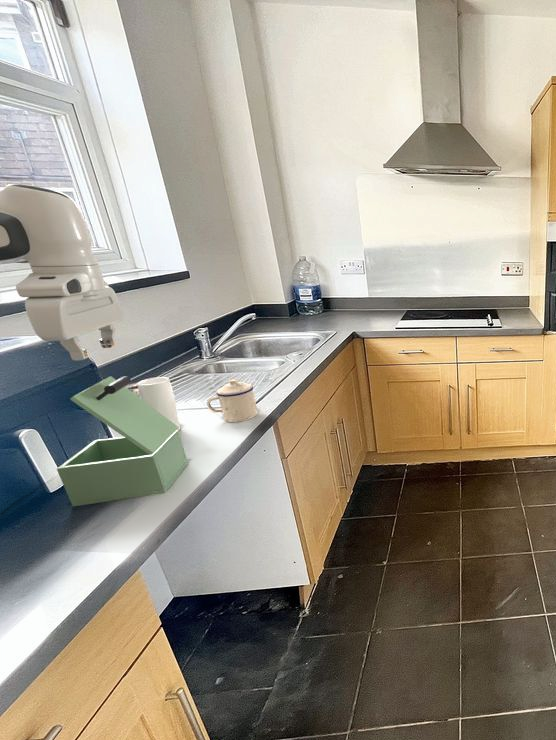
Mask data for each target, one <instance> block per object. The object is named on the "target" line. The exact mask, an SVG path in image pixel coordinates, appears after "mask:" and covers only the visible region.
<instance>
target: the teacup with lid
mask: <svg viewBox="0 0 556 740" xmlns="http://www.w3.org/2000/svg"><path fill="white" fill-rule="evenodd" d="M254 393H255V392H254V386H253V385H252V384H251V383H248V382H241V381H238V380H237V379H236V378H233V379H229V380H228V383H226V384H225V385H224V386H221V387H219V388H218V389H217V390H216V395H217V396H212V397H209V399H208V400H207V401H206V406H207V409H208V410H209V411H211V412H212V413H215V414H222V416H223V419H224V421H226V422H229V423H240V422H244V421H248V420H250V419H253V418H255V417H256V416H257V415H258V414H259V412H258V407H257V403H256V398H255V394H254ZM216 400H218V401H219V404H220V408H221V409H216V408H214V407H212V405H211V403H212V401H216Z"/></svg>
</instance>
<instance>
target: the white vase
mask: <svg viewBox="0 0 556 740" xmlns="http://www.w3.org/2000/svg"><path fill="white" fill-rule="evenodd" d="M136 383H137V386H138V390H139V393H140V396H141V399H142V400H143V401H145V402H146V403H147V404H149V405H150V406H151V407H153V408H154V409H155V410H157V411H158V412H159V413H161V414H162V415H163V416H165V417H166V418H167V419H169V420H170V421H171V422H173V423H174V424H175V425H177V426H178V427H179V428H178V429H177V430H178V431H180V430H181V424H180V420H179V415H178V410H177V404H176V399H175V393H174V389H173V387H172V383H171V380H170V378H169V377H167V376H157V377H149V378H145V379H143V380H140V381H138V382H136ZM177 430H176V431H177Z"/></svg>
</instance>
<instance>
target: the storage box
mask: <svg viewBox="0 0 556 740" xmlns="http://www.w3.org/2000/svg"><path fill="white" fill-rule="evenodd" d="M181 438H182V437H181V435H180V430H177V431H175V432H174V433H173V434H172V435H171V436H170V437H169V438H168V439H167V440H166V441H165V442H164V443H163V444H162V445H161V446H160V447H159V448H158V449H157V450H156V451H155V452H154V453H153V454H152V455H149V454H148V453H147V452H145V451H144V450H142V449H141V448H139V447H138V446H137V445H135V444H134V443H132V442H131V441H129V440H128V439H126V438H125V437H124V436H118V437H110V438H102V439H101V438H100V439H95V440H93V441H92V442H90V443H89V444H87V446H85V447H84V448H82V449H81V450H80V451H78V452H77V453H75V454H74V455H73V456H71V457H70V458H69V459H67V460H66V461H64V463H62V464H61V465H59V466H58V467H57V468H56V472H57V473H58V475H59V478H60V480H61V482H62V485H63V487H64V490H65V492H66V494H67V496H68V500H69V502H70V503H71V506H72V507H80V506H87V505H92V504H93V505H94V504H98V503H99V504H100V503H105V502H112V501H119V500H125V499H133V498H139V497H146V496H151V495H158V494H165V493H166V492H167V491H168V490H169V488H170V487H171V486H172V484H173V483H174V482H175V481H176V480H177V479H178V478H179V476H180V474H182V472H183V471H184V470H185V469H186V467H187V466H188V464H189V461H188V458H187V454H186V452H185V448H184V445H183V440H182V439H181Z"/></svg>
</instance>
